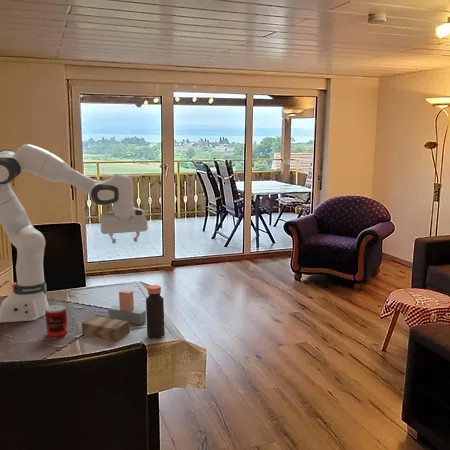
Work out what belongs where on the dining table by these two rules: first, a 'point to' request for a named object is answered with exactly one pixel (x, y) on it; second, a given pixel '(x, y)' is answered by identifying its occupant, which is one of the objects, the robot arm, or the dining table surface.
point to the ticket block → (105, 327)
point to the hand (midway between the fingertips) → (124, 242)
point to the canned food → (56, 321)
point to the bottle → (155, 312)
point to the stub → (127, 309)
